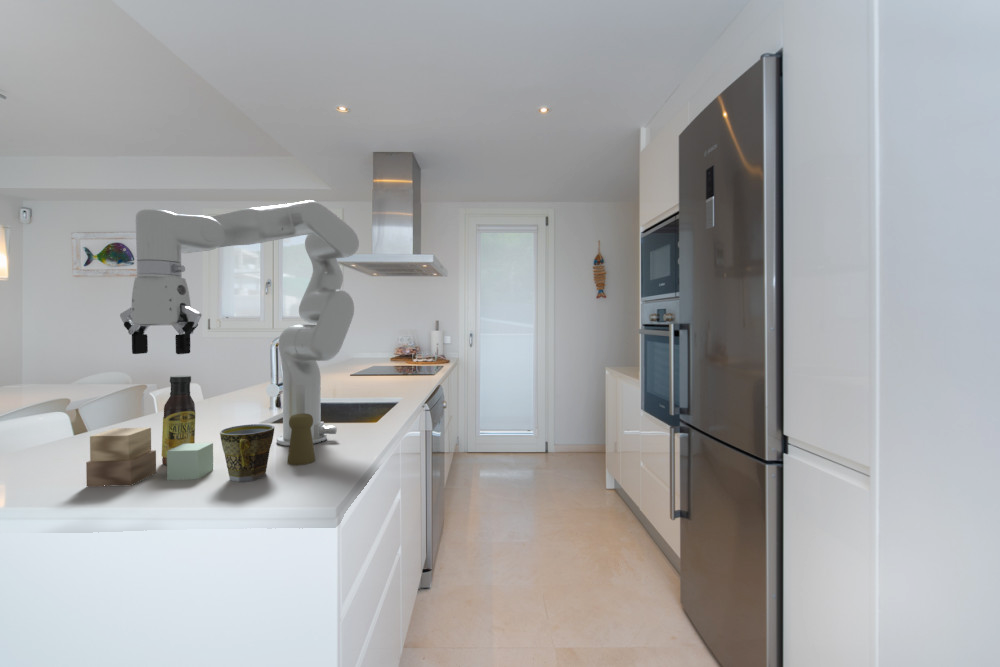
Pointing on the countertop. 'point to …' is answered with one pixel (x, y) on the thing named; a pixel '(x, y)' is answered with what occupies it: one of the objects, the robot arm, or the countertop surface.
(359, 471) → the countertop surface
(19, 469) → the countertop surface
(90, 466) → the walnut block
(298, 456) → the cork
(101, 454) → the oak block
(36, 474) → the countertop surface
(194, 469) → the sage block
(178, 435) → the sauce bottle
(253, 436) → the ceramic cup
